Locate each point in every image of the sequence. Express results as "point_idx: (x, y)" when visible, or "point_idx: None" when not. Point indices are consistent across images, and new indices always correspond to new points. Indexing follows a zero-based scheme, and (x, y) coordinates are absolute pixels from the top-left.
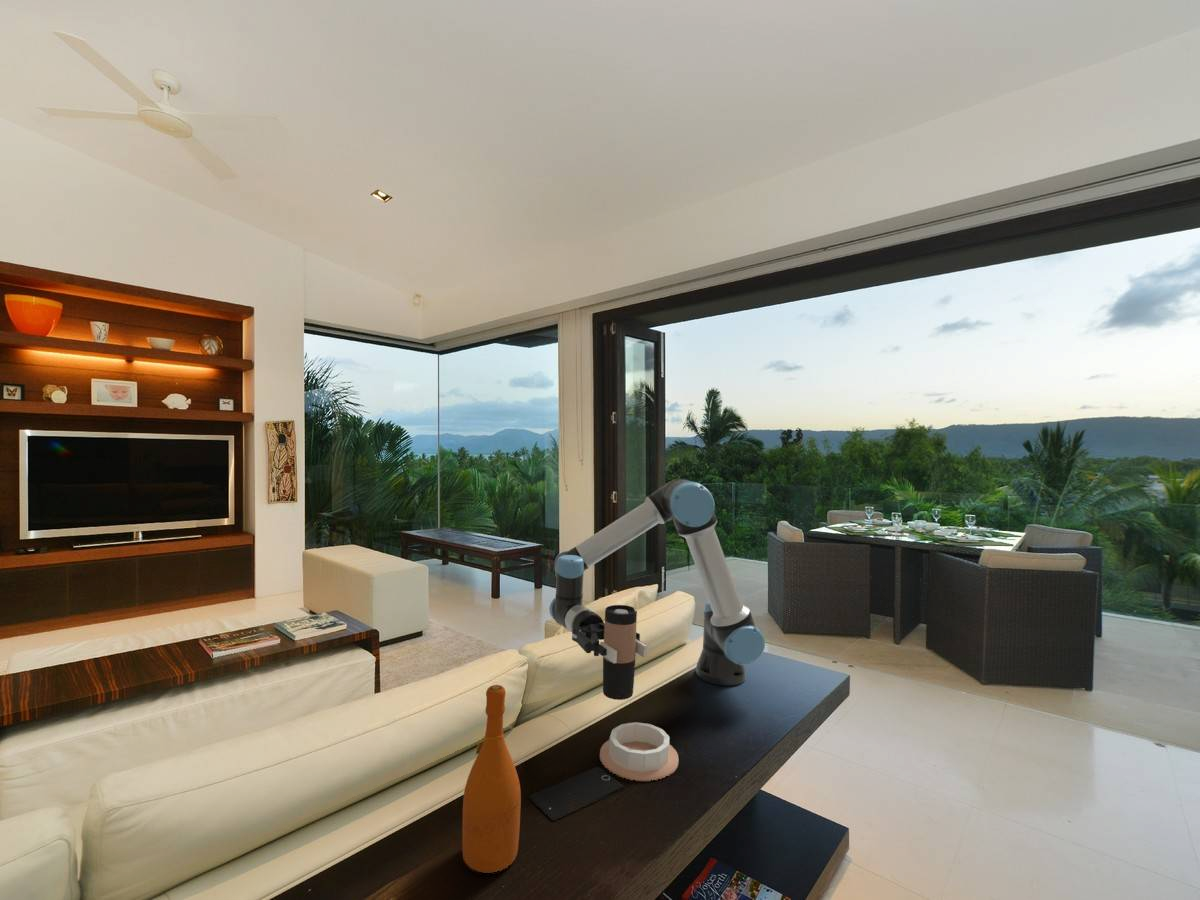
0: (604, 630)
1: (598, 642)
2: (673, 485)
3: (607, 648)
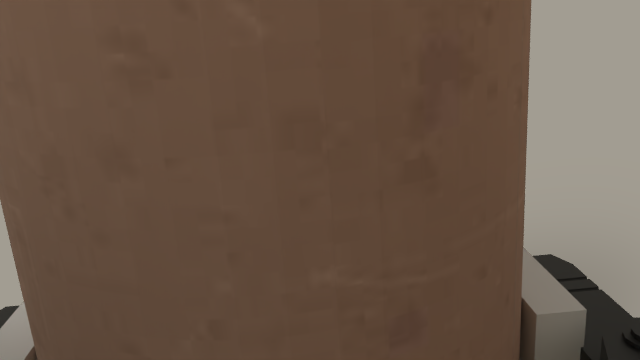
0: (526, 135)
1: (617, 323)
2: None
3: None
